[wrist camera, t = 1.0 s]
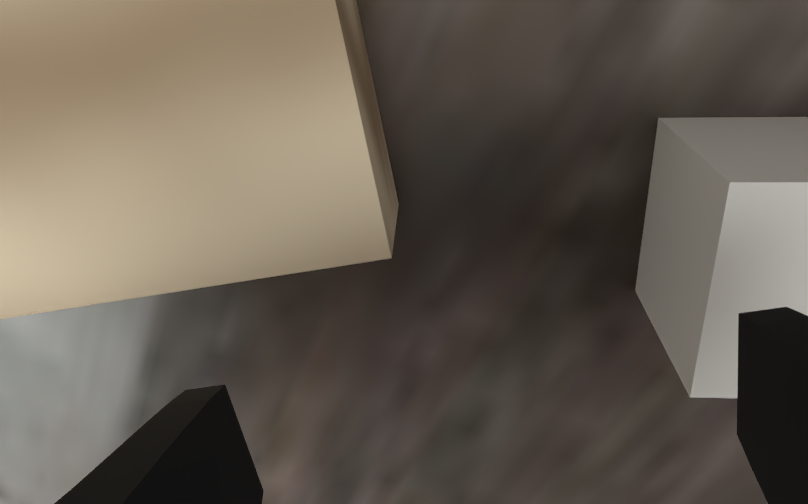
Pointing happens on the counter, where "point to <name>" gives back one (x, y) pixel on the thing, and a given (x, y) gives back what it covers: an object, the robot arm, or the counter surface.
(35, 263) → the maple block
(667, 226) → the off-white cardboard box
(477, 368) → the counter surface
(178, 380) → the counter surface
